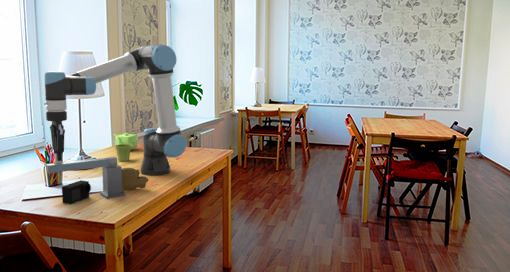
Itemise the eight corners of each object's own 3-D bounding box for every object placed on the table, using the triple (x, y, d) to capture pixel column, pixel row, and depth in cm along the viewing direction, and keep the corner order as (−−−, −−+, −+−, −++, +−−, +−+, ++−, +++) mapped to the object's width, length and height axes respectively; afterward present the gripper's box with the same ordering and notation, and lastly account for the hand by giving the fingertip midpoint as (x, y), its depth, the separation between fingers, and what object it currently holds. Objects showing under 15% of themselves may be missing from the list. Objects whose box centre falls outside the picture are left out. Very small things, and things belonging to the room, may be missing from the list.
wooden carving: (148, 187, 194) (148, 166, 192) (147, 190, 189) (147, 168, 188) (111, 188, 191) (110, 166, 190) (109, 191, 187) (108, 168, 185)
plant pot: (133, 161, 244) (132, 146, 242) (115, 162, 240) (115, 147, 239) (131, 158, 252) (131, 143, 251) (114, 159, 249) (114, 144, 247)
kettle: (117, 153, 265) (117, 135, 264) (111, 149, 277) (111, 132, 275) (141, 151, 274) (141, 133, 272) (134, 147, 285) (134, 130, 284)
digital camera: (73, 205, 167) (72, 187, 166) (62, 203, 169) (61, 186, 168) (91, 197, 177) (91, 181, 176) (81, 196, 179) (80, 180, 178)
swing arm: (115, 163, 183) (114, 156, 182) (118, 165, 179) (118, 158, 179) (46, 171, 166) (45, 163, 166) (48, 173, 163) (48, 166, 162)
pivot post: (118, 190, 187) (117, 163, 185) (125, 195, 181) (124, 166, 179) (100, 193, 182) (99, 165, 180) (106, 198, 176) (105, 169, 174)
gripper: (42, 109, 173) (45, 166, 177) (50, 112, 163) (53, 172, 167) (61, 108, 178) (64, 164, 181) (70, 111, 168) (73, 170, 171)
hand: (59, 168), depth 174 cm, fingers closed
